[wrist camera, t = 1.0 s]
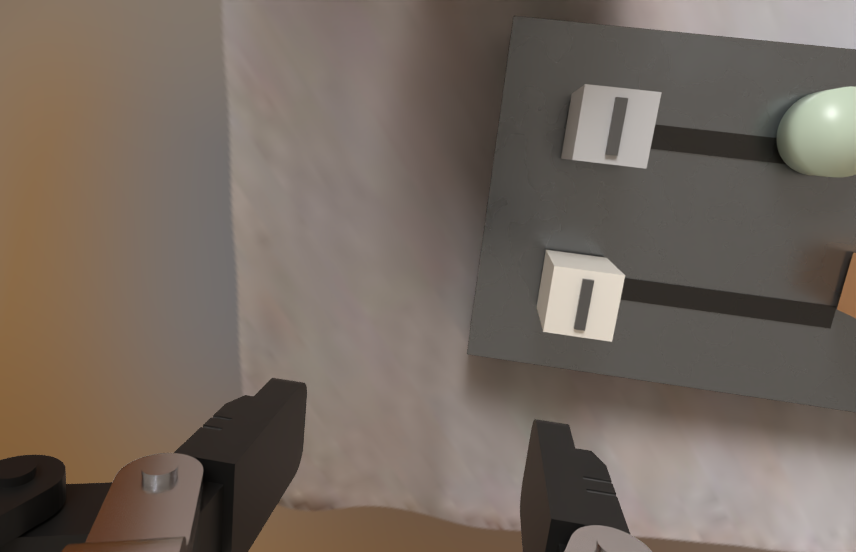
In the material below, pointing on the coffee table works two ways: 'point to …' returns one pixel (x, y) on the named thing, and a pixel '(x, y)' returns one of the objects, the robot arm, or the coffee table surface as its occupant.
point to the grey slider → (611, 125)
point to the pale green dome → (820, 134)
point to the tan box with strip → (849, 291)
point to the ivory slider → (579, 295)
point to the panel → (674, 216)
